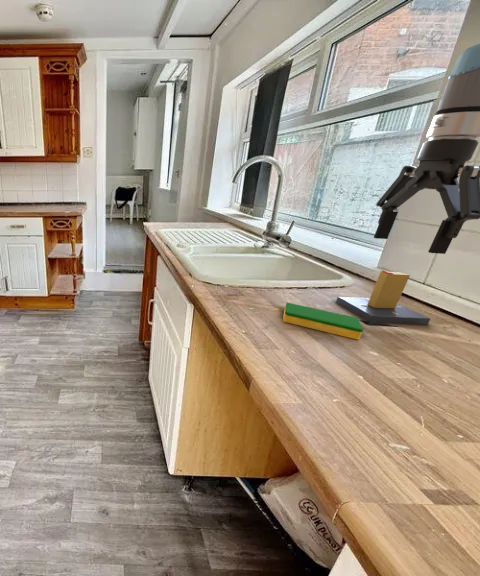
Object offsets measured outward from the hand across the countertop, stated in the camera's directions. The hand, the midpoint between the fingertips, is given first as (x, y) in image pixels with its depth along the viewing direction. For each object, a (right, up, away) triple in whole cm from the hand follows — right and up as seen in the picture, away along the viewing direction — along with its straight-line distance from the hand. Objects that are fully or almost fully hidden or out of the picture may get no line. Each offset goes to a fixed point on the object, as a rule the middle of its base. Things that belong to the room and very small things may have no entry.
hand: (405, 245), depth 68 cm
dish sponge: (-19, -18, +1) cm, 26 cm away
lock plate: (-1, -16, +6) cm, 18 cm away
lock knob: (0, -14, +5) cm, 15 cm away
